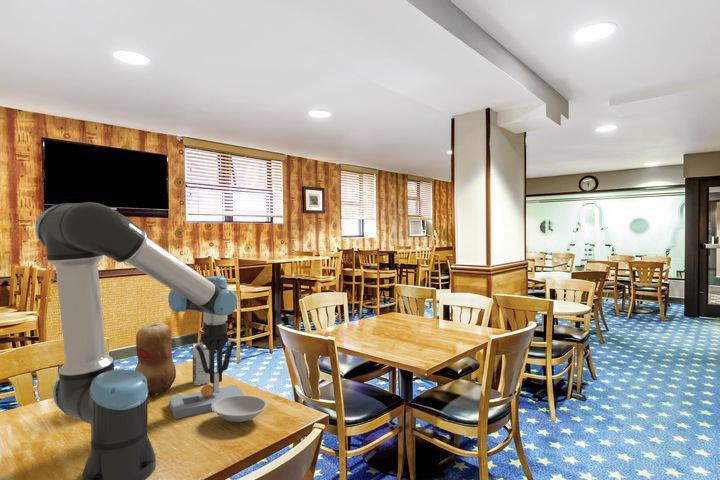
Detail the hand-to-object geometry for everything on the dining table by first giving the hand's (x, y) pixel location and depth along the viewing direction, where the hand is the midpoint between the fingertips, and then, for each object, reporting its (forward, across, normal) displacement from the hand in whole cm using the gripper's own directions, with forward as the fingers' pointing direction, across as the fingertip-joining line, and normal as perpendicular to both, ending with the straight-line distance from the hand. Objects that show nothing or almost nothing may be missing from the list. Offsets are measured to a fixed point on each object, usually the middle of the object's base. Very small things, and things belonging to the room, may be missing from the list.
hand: (215, 391), depth 138 cm
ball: (-1, +3, 0) cm, 3 cm away
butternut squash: (+4, +17, -19) cm, 26 cm away
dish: (+4, -3, +17) cm, 18 cm away
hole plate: (+4, +3, 0) cm, 5 cm away
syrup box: (+4, +1, -22) cm, 22 cm away
